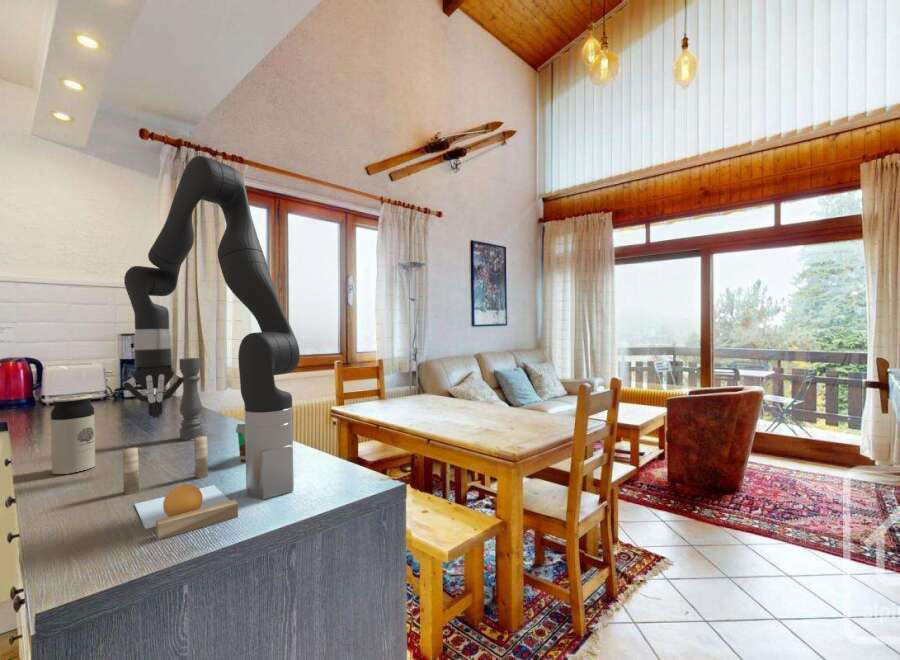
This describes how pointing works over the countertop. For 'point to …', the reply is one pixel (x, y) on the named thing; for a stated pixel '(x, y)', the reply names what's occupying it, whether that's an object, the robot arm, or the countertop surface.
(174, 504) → the ball
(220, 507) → the wall
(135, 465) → the left post
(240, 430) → the food container
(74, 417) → the travel mug
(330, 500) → the countertop surface
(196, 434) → the candle holder
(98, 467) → the countertop surface
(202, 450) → the right post
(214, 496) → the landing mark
